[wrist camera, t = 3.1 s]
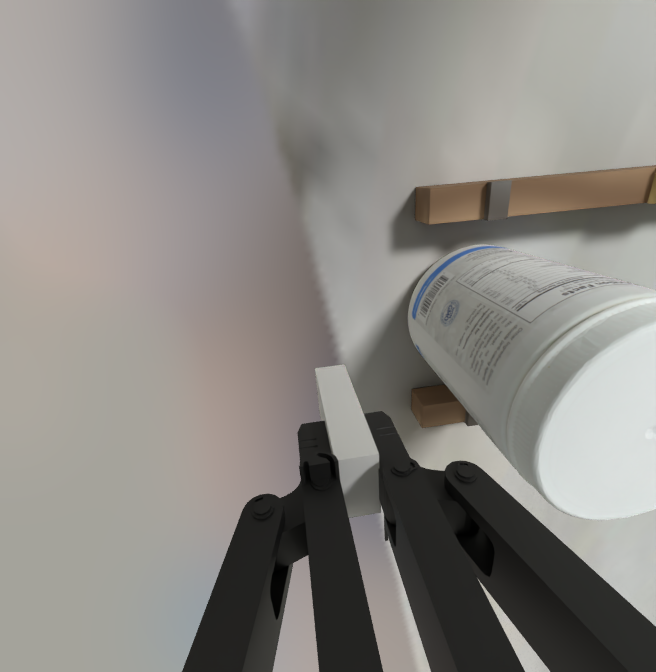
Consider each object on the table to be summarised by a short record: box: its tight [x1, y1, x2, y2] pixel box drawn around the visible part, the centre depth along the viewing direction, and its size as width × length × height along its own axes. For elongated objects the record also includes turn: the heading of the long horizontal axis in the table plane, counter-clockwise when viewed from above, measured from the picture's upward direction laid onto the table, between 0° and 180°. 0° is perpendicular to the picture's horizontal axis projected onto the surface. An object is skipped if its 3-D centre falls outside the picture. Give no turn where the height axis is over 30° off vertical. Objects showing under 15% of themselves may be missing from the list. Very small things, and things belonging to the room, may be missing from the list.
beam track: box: [411, 165, 656, 428], centre depth 26 cm, size 17×34×3 cm, turn 95°
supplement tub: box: [408, 244, 656, 520], centre depth 20 cm, size 10×10×15 cm
